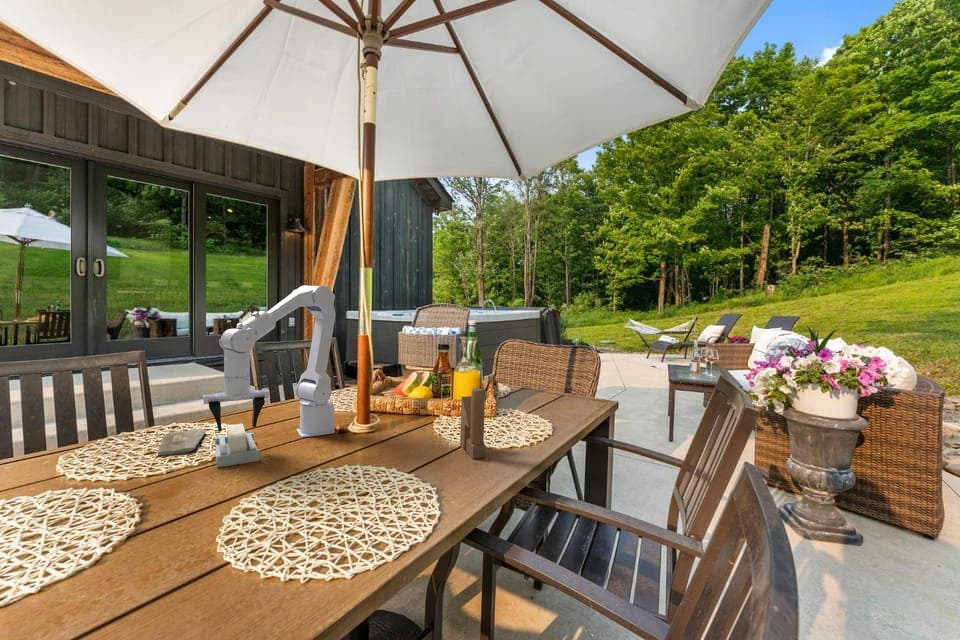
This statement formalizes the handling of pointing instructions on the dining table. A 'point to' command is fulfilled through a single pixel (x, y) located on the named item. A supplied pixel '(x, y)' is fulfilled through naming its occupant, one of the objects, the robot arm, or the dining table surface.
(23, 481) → the dining table surface
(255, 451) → the tray
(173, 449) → the stone
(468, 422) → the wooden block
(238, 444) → the clay bar
